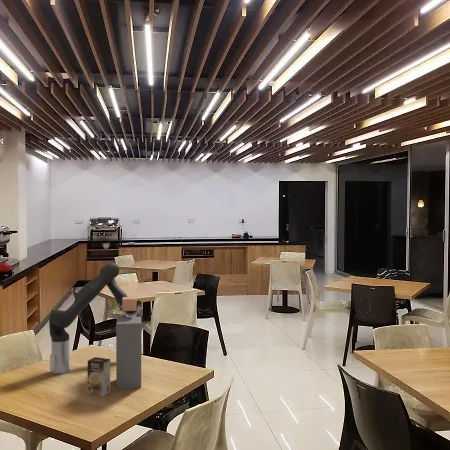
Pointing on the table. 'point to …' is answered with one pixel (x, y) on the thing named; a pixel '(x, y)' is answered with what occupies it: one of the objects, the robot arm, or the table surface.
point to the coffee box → (98, 376)
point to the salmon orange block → (129, 304)
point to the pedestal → (128, 352)
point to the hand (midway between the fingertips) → (130, 299)
